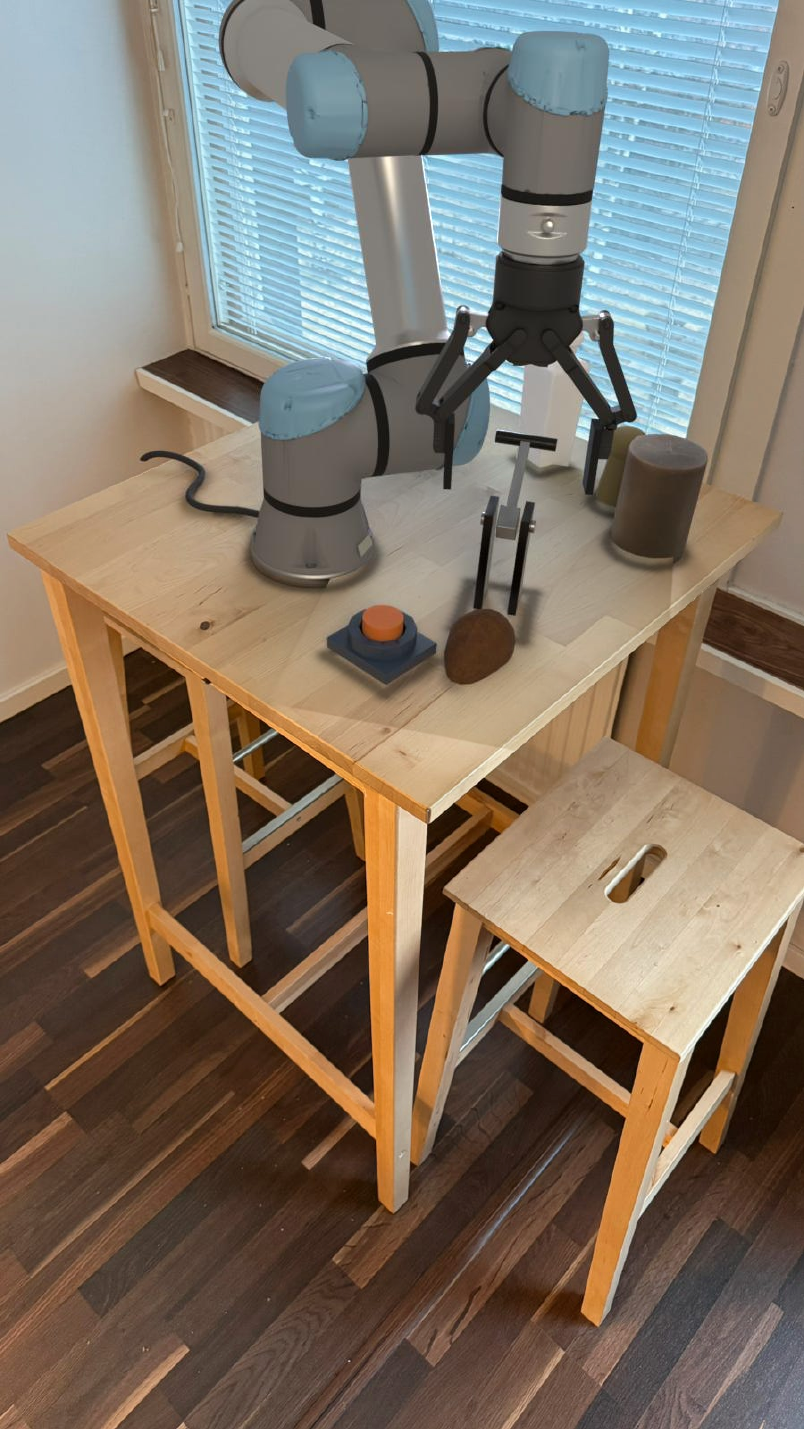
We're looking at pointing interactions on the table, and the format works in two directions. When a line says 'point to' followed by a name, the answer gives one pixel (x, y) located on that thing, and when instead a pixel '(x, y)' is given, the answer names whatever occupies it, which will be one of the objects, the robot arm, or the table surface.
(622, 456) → the olive pawn
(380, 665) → the button block
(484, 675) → the potato
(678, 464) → the pillar candle
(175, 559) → the table surface
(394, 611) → the button
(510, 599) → the lever bracket
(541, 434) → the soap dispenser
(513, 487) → the lever
